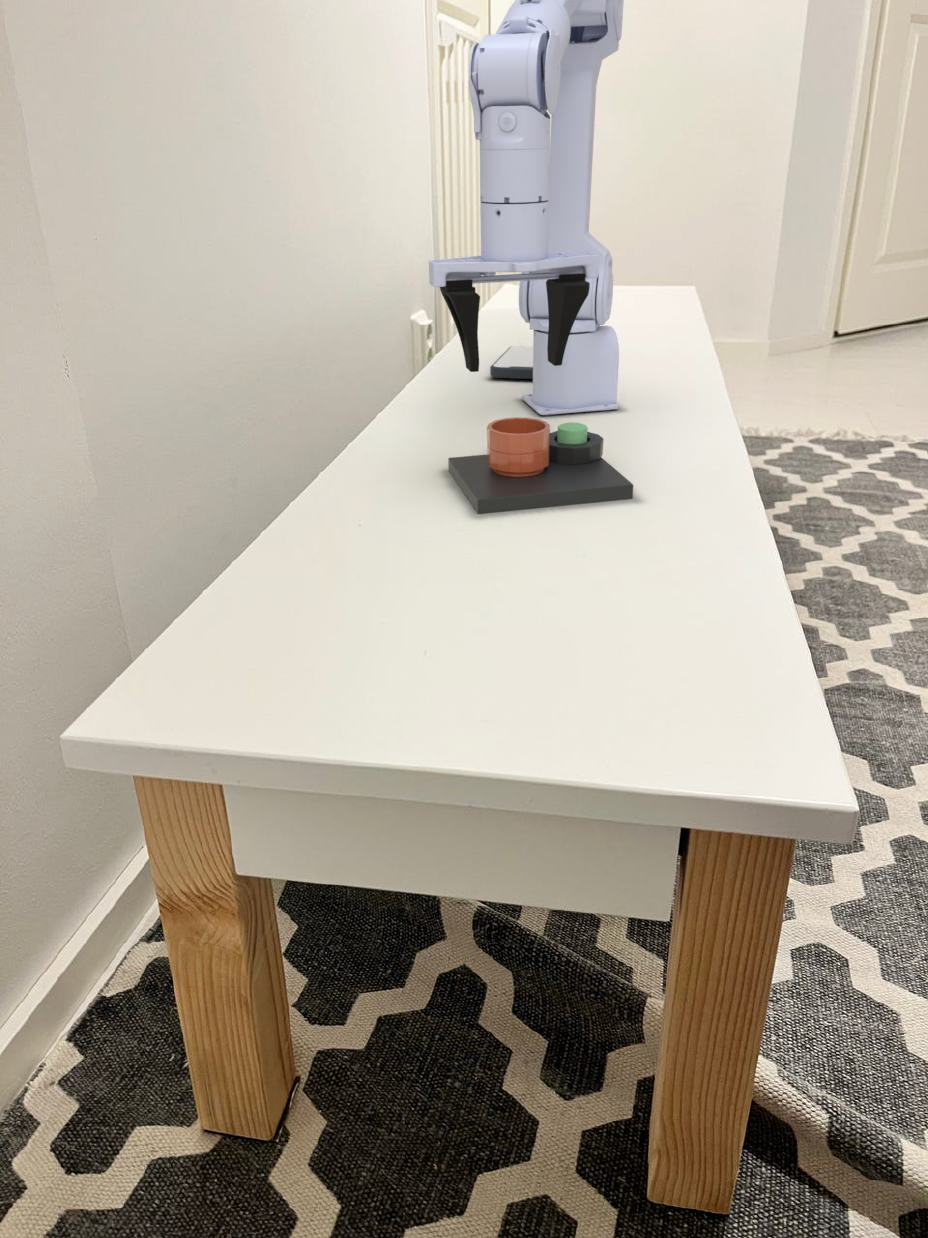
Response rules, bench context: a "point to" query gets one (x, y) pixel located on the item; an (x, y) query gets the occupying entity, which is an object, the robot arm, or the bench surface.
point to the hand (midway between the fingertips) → (513, 366)
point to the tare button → (572, 433)
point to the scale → (543, 480)
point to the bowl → (518, 446)
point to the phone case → (514, 363)
